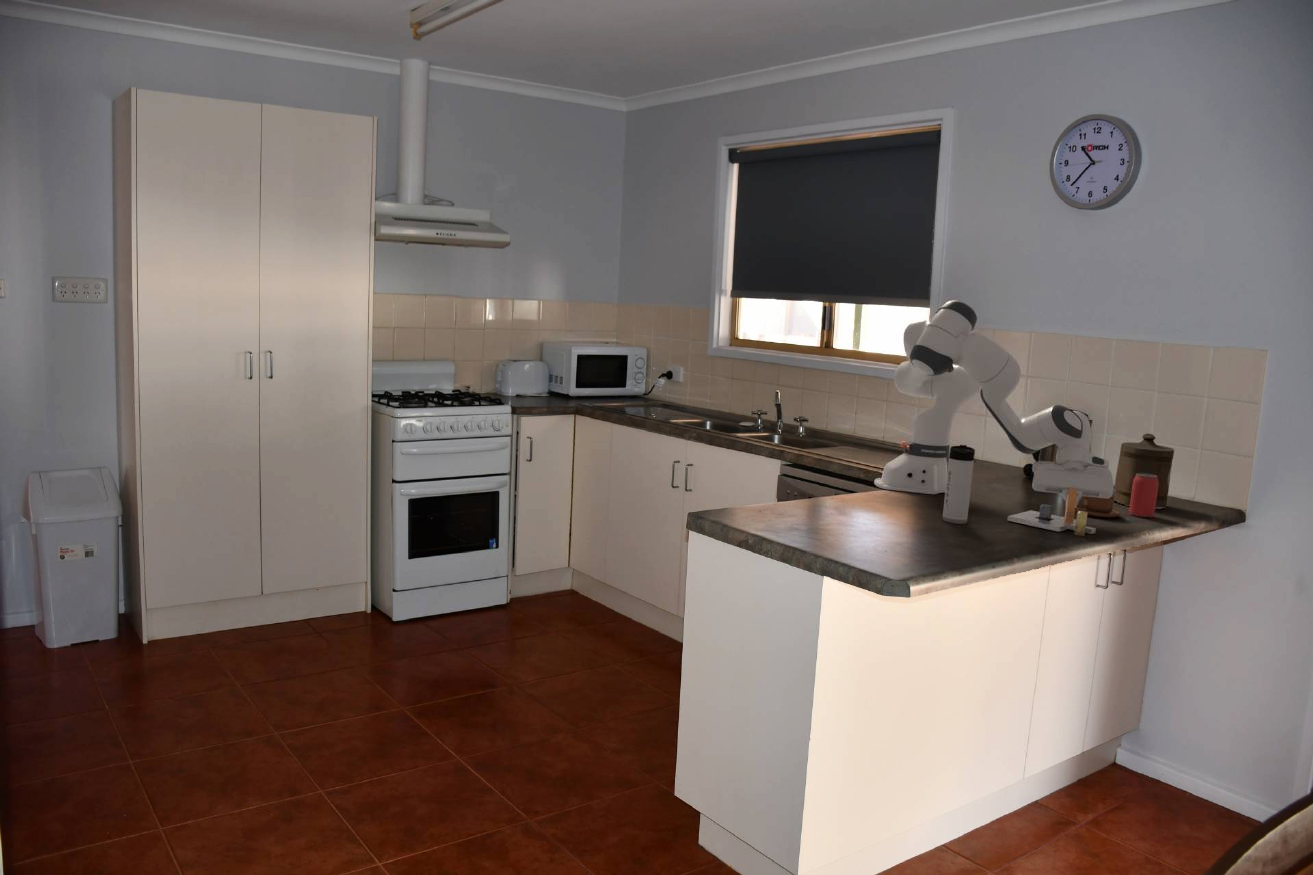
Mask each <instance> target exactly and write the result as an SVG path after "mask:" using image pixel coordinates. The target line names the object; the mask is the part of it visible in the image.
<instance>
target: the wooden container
mask: <svg viewBox="0 0 1313 875" xmlns="http://www.w3.org/2000/svg"><path fill="white" fill-rule="evenodd" d="M1142 439H1143V440H1141V441H1139V442H1130V441H1129V442H1122V443H1121V444H1120V451H1119V456H1118V461H1117V462H1118V463H1117V469H1116V473H1115V480H1114V490H1113V494H1112V495H1113V496H1114V500H1115V501H1117V502H1120V503H1122V504H1125V505H1130V501H1131V493H1132V486H1133V480H1134V478H1135V476H1136V474H1137V473H1146V474H1152V475H1156V476H1158V477H1157V479H1158V483H1159V485H1158V492H1157V499H1156V506H1155V508H1156V507H1165V506H1166V507H1167V502H1168V495H1169V490H1170V483H1171V482H1170V480H1171V472H1172V467H1173V466H1172V465H1173V460H1174V454H1175V449H1174V448H1172V447H1169V446H1165V445H1158V444H1157V443H1156V442H1155V441H1154V440H1156V436H1155V435H1154V434H1153V433H1145V434H1143V435H1142Z"/></svg>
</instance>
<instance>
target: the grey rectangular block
mask: <svg viewBox="0 0 1313 875" xmlns="http://www.w3.org/2000/svg"><path fill="white" fill-rule="evenodd" d="M1038 512H1039V519H1042V520H1047V521H1050V520H1051V515H1053V514H1052V513H1053V505H1049V504H1040V505H1039V511H1038Z"/></svg>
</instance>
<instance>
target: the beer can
mask: <svg viewBox="0 0 1313 875" xmlns="http://www.w3.org/2000/svg"><path fill="white" fill-rule="evenodd" d="M1157 477H1158V476H1156V475H1152V474H1146V473H1137V474H1136V476H1135V478H1134V480H1133V486H1132V493H1131V501H1130V507H1129V509H1128V513H1129V515H1131V516H1133V515H1135V516H1134V517H1137V516H1139V517H1138V518H1143V517H1151V518H1153V517H1154V516H1155V511H1156V510H1155V506H1156V499H1157V492H1158V485H1159V483H1158V479H1157Z"/></svg>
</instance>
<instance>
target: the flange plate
mask: <svg viewBox="0 0 1313 875" xmlns="http://www.w3.org/2000/svg"><path fill="white" fill-rule="evenodd" d="M1077 490H1078V489H1077V488H1073V487H1068V495H1067V502H1065V511H1064V512H1065V513H1064V516H1061V515H1055V514H1051V520H1050V521H1047V520H1042V519H1039V512H1040V511H1035V510H1027V511H1023V512H1020V513H1019V512H1018V513H1015V514H1011V515H1008V516H1007V521H1009V522H1012V523H1018V524H1021V525H1022V524H1023V525H1027V526H1030V527H1035V528H1041V529H1044V530H1045V529H1046V530H1050V531H1054V532H1063V531H1067V530H1070V531H1075V527H1076V519H1075V512H1076V508H1075V506H1076V498H1077ZM1096 529H1097V528H1095V527H1091V526H1087V525H1086V529H1085V534H1086V533H1087V534H1090V535H1092V534H1095V533H1096Z"/></svg>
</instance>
